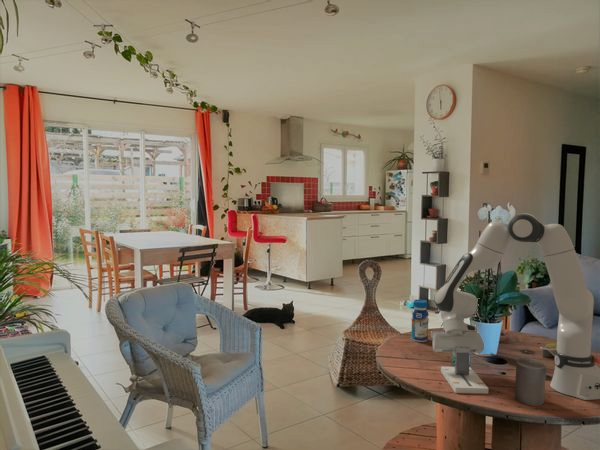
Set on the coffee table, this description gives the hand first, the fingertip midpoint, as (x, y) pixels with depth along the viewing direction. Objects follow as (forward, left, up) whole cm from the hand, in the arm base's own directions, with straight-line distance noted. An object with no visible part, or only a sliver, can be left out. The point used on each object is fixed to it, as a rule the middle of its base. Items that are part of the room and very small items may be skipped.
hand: (461, 361), depth 186 cm
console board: (0, +4, -7) cm, 8 cm away
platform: (-49, -27, -7) cm, 56 cm away
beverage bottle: (+6, -48, -7) cm, 49 cm away
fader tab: (0, +2, -4) cm, 5 cm away
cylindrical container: (-19, -29, -7) cm, 36 cm away
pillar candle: (-19, +19, -7) cm, 27 cm away
